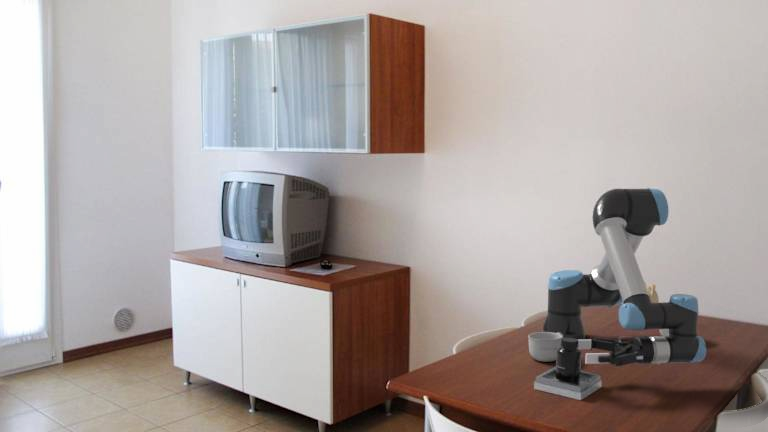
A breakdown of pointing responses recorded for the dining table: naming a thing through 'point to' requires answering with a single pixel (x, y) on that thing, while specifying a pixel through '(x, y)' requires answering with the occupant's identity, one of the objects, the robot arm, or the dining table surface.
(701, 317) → the dining table surface
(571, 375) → the supplement bottle
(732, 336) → the dining table surface
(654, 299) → the kitten
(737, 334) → the dining table surface
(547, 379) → the shadow box frame
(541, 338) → the teacup
